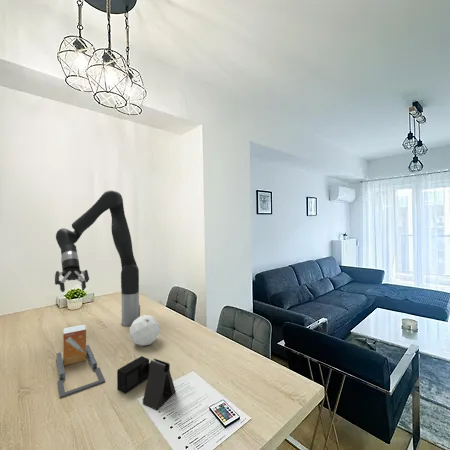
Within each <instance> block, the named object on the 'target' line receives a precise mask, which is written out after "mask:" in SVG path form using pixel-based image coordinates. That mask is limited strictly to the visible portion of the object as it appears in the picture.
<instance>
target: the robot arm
mask: <svg viewBox="0 0 450 450" xmlns="http://www.w3.org/2000/svg"><path fill="white" fill-rule="evenodd" d="M108 210H109V212H110V216H111V225H110V226H111V236H112V240H113V244H114V247H115V249H116V251H117V253H118V255H119V259H120V264H121V272H120V283H121V284H120V290H121V291H120V293H121V325H122V326H124V327H125V326H126V327H128V326H129V327H131V325H132V323H133V321H134V320H136V319H137V318H139V317H140V316H141V305H140V280H139V279H140V269H139V267H138V265H137V261H136V258H135V256H134V250H133V243H132V237H131V232H130V228H129V225H128V221H127V218H126V215H125V208H124V200H123V196H122V195H121V193H120V192H118V191H116V190H106V191H104V192H103V194H102V195H100V197H99V198H98V199H97V200H96V202H95V203H94V204H93V205H92V206H91V207H89V209H88V210H86V211H85V212H84V213H83V214H82V215H80V216H79V217H78V218H77V219H76V220H74V221H73V222H72V223H71V228H72V229H73V231H72V230H70V229H67V228H63V227H62V228H60V229H59V230H57V232H56V233H55V240H56V242H57V245H58V247H59V248H60V254H61V259H60V260H61V261H60V262H61V268H62V269H61V270H62V271H60V270H59V271H58V270H57V271H56V272H55V274H54V285H58V286H59V290H60V292H62V293H65V289H66V288H65V287H66V286H65V283H66V281H76V280H77V282H79V283H81V284H80V286H81V290H82V291H85V289H86V288H87V285H86V283H88V282H89V280H90V276H89V273H88V269H85V270H81V267H80V261H79V260H80V259H79V255H78V250H77V245H76V244H75V243H77V242H79V241H78V240H79V239H80V238H81V236H82V235H83V234H84V232H85V231H86V230H87V229H89V228H90V227H91V226H92V225H93V224H94V223H95V222H96V221H97V219H98V218H99V217H100V216H101V215H102V214H103V213H105V212H106V211H108ZM61 276H62V277H63V278H62V279H61V280H60V277H61Z"/></svg>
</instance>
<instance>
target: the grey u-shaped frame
mask: <svg viewBox="0 0 450 450" xmlns="http://www.w3.org/2000/svg"><path fill="white" fill-rule="evenodd" d="M86 358H87V359H88V362H89V365H90V367H91V370H92V371H95V369H97V368H98V361H97V360H96V358H95V355H94V354H93V351H92V349H91V346H90V344H86ZM56 363H57V371H58V377H59V380H62V379H63V381H64V380H66V371H65V366H63V355H62V352H57V353H56Z"/></svg>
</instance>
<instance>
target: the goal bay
mask: <svg viewBox="0 0 450 450" xmlns="http://www.w3.org/2000/svg"><path fill="white" fill-rule="evenodd" d="M94 371H95V373H96V376H97V379H98V380H96V381H93V382H91V383H87V384H85V385H82V386H79V387H76V388H74V389H70V390H68V391H65V385H64V380H63V379H62V380H60V379H59V380H57V387H58V388H57V389H58V395H59V399H62V398H65V397H67V396H71V395H73V394H77V393H79V392H82V391H85V390H87V389H91V388H93V387H95V386H99V385H101V384H103V383H106V380H105V377H104V375H103V372H102V370H101V368H100V367H97V369H95V370H94Z"/></svg>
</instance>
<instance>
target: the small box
mask: <svg viewBox="0 0 450 450" xmlns="http://www.w3.org/2000/svg"><path fill="white" fill-rule="evenodd" d="M86 328H87V327H86V324H79V325H74V326H70V327H65V328H63V329H62V340H63V341H62V354H63V355H62V361H63V366H64V367H66V366H68V365H71V364H76V363H80V362H85V361H87V355H86V345H87V329H86Z"/></svg>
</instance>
